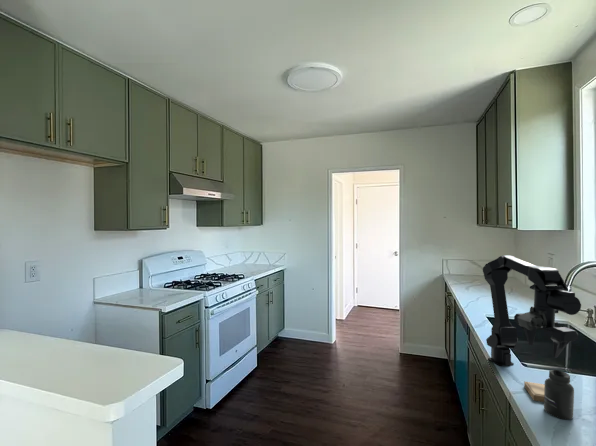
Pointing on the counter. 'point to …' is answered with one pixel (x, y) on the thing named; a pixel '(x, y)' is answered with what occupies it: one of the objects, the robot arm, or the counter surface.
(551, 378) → the supplement bottle
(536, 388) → the square wooden coaster
